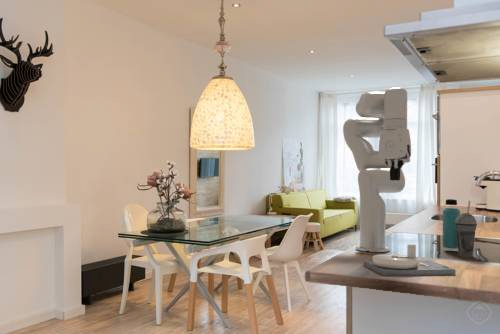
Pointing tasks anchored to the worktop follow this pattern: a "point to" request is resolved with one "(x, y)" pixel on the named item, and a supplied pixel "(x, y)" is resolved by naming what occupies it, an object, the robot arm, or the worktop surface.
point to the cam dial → (398, 259)
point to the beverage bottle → (450, 225)
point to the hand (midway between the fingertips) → (394, 180)
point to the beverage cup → (465, 233)
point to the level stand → (413, 269)
